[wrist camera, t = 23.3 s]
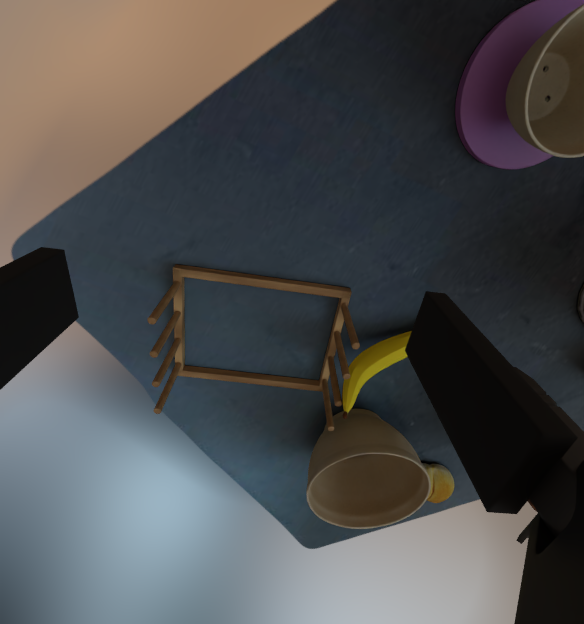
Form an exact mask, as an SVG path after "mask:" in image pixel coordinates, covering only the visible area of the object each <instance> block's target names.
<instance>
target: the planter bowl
mask: <svg viewBox="0 0 584 624" xmlns="http://www.w3.org/2000/svg"><path fill="white" fill-rule="evenodd" d="M343 413H344V411H342V412H340V413H338V414H336V415H334V416H333V423H334V430H333V431H329V430H328V429H327V424H326V426H325V428H324V432H323V433H322V434H321V436H320V437H319V439H318V441H317V442H316V445H315V447H314V449H313V452H312V455H311V459H310V463H309V470H308V485H307V501H308V504H309V506H310V508H311V510H312V511H313V512H314V513H315V514H316V515H317V516H318V517H319V518H321V519H322V520H324V521H326V522H328V523H330V524H333V525H337V526H340V527H345V528H353V529H366V528H375V527H380V526H385V525H389V524H393V523H396V522H398V521H401V520H403V519H405V518H407V517H408V516H410V515H412V514H413V513H415V512H416V511H417V510H418V509H419V508H420V507H421V506H422V505H423V504H424V503H425V501H426V500H427V498H428V496H429V494H430V490H431V481H430V477H429V475H428V473H427V471H426V469H425V467H424V466H423V464H422V463H421V461H420V459H419V457H418V455H417V454H416V452H415V450H414V449H413V447H412V446H411V444H410V443H409V442H408V441H407V439H406V438H405V437H404V436H403V435H402V434H401V433H400V432H399V431H398V430H396V429H395V428H394V427H393V426H391V425H390V424H388V423H387V422H385V421H383V420H382V419H381V418H380V417H379V416H378V415H377V414H375V413H374V412H372V411H369V410H365V409H351V410H350V411H349V412H348V413H347V416H348V417H347V419H344V418H343V416H342V415H343Z"/></svg>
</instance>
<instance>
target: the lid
mask: <svg viewBox="0 0 584 624" xmlns="http://www.w3.org/2000/svg"><path fill="white" fill-rule="evenodd" d="M583 4H584V0H536V1H534V2H531V3H529V4H527V5H525V6H523V7H521V8H519V9H518V10H516V11H514V12H512V13H511V14H509V15H508V16H507V17H505V18H504V19H502V20H501V21H500V22H499V23H498V24H497V25H496V26H494V27H493V28H492V29H491V30H490V32H489V33H488V34H487V35H486V36H485V37H484V38H483V40H482V41H481V42H480V43H479V45H478V46H477V48H476V49H475V51H474V52H473V54H472V56H471V57H470V59H469V61H468V63H467V65H466V67H465V69H464V72H463V74H462V77H461V80H460V83H459V87H458V91H457V96H456V104H455V118H456V126H457V131H458V134H459V137H460V139H461V141H462V143H463V145H464V147H465V148H466V150H467V151H468V152H469V153H470V154H471V155H472V156H473V157H474V158H475V159H477V160H478V161H480V162H481V163H483V164H486V165H488V166H492V167H496V168H501V169H521V168H526V167H530V166H533V165H536V164H538V163H541V162H543V161H545V160H547V159H549V158H550V157H552V156H554V155H551V154H548V153H545V152H543V151H541V150H539V149H537V148H535V147H533V146H532V145H530V144H529V143H528V142H526V141H525V140H524V139H523V138H522V137H521V136H520V135H519V134H518V133H517V132H516V131H515V129H514V128H513V126H512V124H511V122H510V120H509V118H508V115H507V111H506V92H507V87H508V84H509V81H510V79H511V76H512V74H513V72H514V70H515V69H516V67H517V65H518V64H519V62H520V61H521V59H522V58H523V57H524V55H525V54H526V53H527V51H528V50H529V49H530V48H531V47H532V45H533V44H534V43H535V42H536V41H537V40H538V39H539V38H540V37H541V36H542V35H543V34H544V33H545V32H546V31H547V30H549V29H550V28H551V27H552V26H553V25H554V24H556V23H557V22H558V21H560V20H561V19H562V18H563V17H565V16H566V15H568V14H569V13H570V12H572V11H573V10H575V9H576V8H578V7H579V6H581V5H583ZM543 71H544V68H543ZM547 98H548V99H549V98H550V97H549V96H547Z"/></svg>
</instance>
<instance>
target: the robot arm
mask: <svg viewBox="0 0 584 624" xmlns="http://www.w3.org/2000/svg"><path fill="white" fill-rule="evenodd" d="M77 318H79V316H78V312H77V307H76V302H75V298H74V293H73V289H72V284H71V279H70V275H69V270H68V266H67V261H66V256H65V252H64V250H61V249H53V248H44V247H41V248H39V249H37V250H35V251H33V252H31V253H29V254H27V255H25V256H23V257H21V258H19V259H17V260H15V261H13V262H11V263H9V264H7V265H5V266H3V267H1V268H0V389H2V388H3V387H4V386H5V385H6V384H7V383H8V382H9V381H10V380H11V379H12V378H13V377H15V375H17V374H18V373H19V372H20V371H21V370H22V369H23V368H24V367H25V366H26V365H27V364H29V363H30V362H31V361H32V360H33V359H34V358H35V357H36V356H37V355H38V354H39V353H40V352H42V351H43V350H44V349H45V348H46V347H47V346H48V345H49V344H50V343H51V342H53V341H54V339H56V338H57V337H58V336H59V335H60V334H61V333H62V332H63V331H64V330H66V329H67V328H68V327H69V326H70V325H71V324H72V323H73V322H74V321H75V320H76V319H77ZM405 352H406V354H407V356H408V358H409V360H410V362H411V364H412V366H413V368H414V370H415V372H416V374H417V376H418V378H419V380H420V381H421V383H422V385H423V387H424V389H425V391H426V393H427V395H428V397H429V399H430V401H431V403H432V405H433V407H434V409H435V411H436V413H437V415H438V417H439V419H440V421H441V423H442V425H443V427H444V429H445V431H446V432H447V434H448V436H449V438H450V440H451V442H452V444H453V446H454V448H455V450H456V452H457V454H458V456H459V458H460V460H461V462H462V464H463V466H464V468H465V470H466V472H467V474H468V476H469V478H470V480H471V482H472V483H473V485H474V487H475V489H476V491H477V493H478V495H479V497H480V499H481V501H482V503H483V505H484V507H485V509H486V511H487V512H494V513H509V514H517V513H518V512H519V511H520V509H521V508H522V507H523V506H524V504H525V503H526V502H527V501H528V499H530V501H531V503H532V504H533V506H534V507H535V509H536V510H537V512H538V514H537V515H536V516H535V518H534V519H533V520H532V521H531V522H530V524H529V525H528V526H527V527H526V528H525V529H524V530H523V531H522V533H521V534H520V535H519V537H518V539H517V541H518V542H520V543H521V544H522V543H523V542H524V540H525V539H526V538H529V540H528V546H527V552H526V558H525V564H524V570H523V576H522V582H521V588H520V594H519V600H518V606H517V612H516V618H515V624H584V432H583V431H582V430H581V429H580V427H579V426H578V425H577V424H576V423H575V422H574V421H573V420H572V419H571V418H570V417H569V416H568V415H567V414H566V413H565V412H564V411H563V410H562V409H561V408H560V407H557V403H556V402H555V401H554V400H553V399H552V398H551V397H550V396H549V395H546V392H545V391H544V390H543V389H542V388H541V387H540V386H539V385H538V384H537V382H536V381H535V380H534V379H532V378H531V377H529V376H528V375H526V374H525V373H524V372H522V371H521V370H519V369H518V368H516V367H513V366H512V365H511V364H510V363H509V362H508V361H507V360H506V359H505V358H504V357H503V356H502V354H501V353H500V352H499V351H498V350H497V349H496V348H495V347H494V346H493V345H492V344H491V342H490V341H489V340H488V339H487V338H486V337H485V336H484V335H483V334H482V333H481V332H480V331H479V329H478V328H477V327H476V326H475V325H474V324H473V323H472V322H471V321H470V320H469V319H468V317H467V316H466V315H465V314H464V313H463V312H462V311H461V310H460V309H459V308H458V307H457V306H456V304H455V303H454V302H453V301H452V300H451V299H450V298H449V297H448V296H447V295H446V294H444V293H435V292H427V291H426V293H425V296H424V298H423V301H422V304H421V307H420V310H419V312H418V315H417V318H416V321H415V323H414V326H413V329H412V332H411V334H410V337H409V340H408V343H407V345H406V348H405Z"/></svg>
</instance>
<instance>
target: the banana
mask: <svg viewBox="0 0 584 624" xmlns="http://www.w3.org/2000/svg"><path fill="white" fill-rule="evenodd" d="M411 332H412V331H409V332H406V333H403V334H399V335H396V336H393V337H391V338H388V339H386V340H383V341H381V342H379V343H377V344H375V345H373V346H371V347H369V348H368V349H366V350H365V351H363V352H362V353H360V354H359V355H358V356H357V357H356V358H355V359H354V360H353V362H352V363H351V364H350V366H349V372H350V378H349V379H344V383H343V392H342V403H343V409H344V413H343V415H342V416H343V418H344V419H347V417H348V416H347V413H348V412H349V411H350V410H351V409H352V407H353V405H354V403H355V400H356V398H357V395H358V393H359V391H360V389H361V388H362V386H363V385H364V384H365V382H366V381H367V380H368V379H370V378H371V377H372V376H373V375H375V374H376V373H378V372H380V371H381V370H383V369H384V368H386V367H388V366H390V365H392V364H394V363H396V362H398V361H400V360H402V359H404V358H406V357H408V356H407V354H406V352H405V348H406V345H407V343H408V340H409V337H410V334H411Z"/></svg>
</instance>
